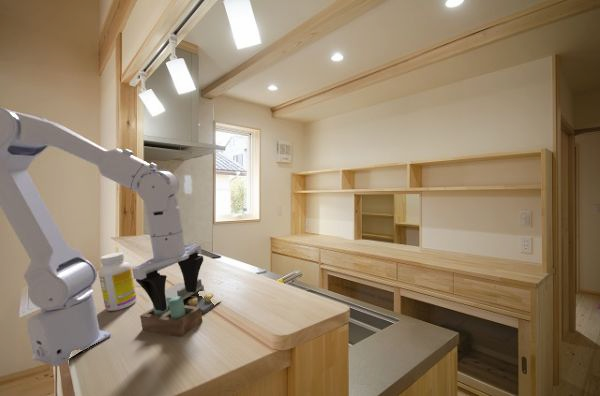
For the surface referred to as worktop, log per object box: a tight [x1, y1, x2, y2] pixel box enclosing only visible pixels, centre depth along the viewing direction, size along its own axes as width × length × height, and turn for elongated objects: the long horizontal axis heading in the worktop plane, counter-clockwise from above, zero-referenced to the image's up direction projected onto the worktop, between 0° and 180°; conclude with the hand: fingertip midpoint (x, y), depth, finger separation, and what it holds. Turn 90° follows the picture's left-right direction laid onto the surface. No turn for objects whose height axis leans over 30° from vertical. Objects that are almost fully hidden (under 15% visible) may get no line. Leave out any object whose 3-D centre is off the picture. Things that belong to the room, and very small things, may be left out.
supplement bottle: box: [97, 251, 137, 312], centre depth 70 cm, size 7×7×13 cm
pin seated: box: [152, 294, 169, 316], centre depth 59 cm, size 3×3×6 cm
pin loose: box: [168, 296, 186, 319], centre depth 57 cm, size 3×3×6 cm
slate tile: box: [185, 293, 215, 315], centre depth 65 cm, size 6×6×2 cm
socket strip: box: [139, 303, 203, 338], centre depth 58 cm, size 6×11×3 cm, turn 66°
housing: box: [165, 278, 205, 303], centre depth 68 cm, size 7×8×5 cm
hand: (177, 300), depth 56 cm, fingers open, 7 cm apart
